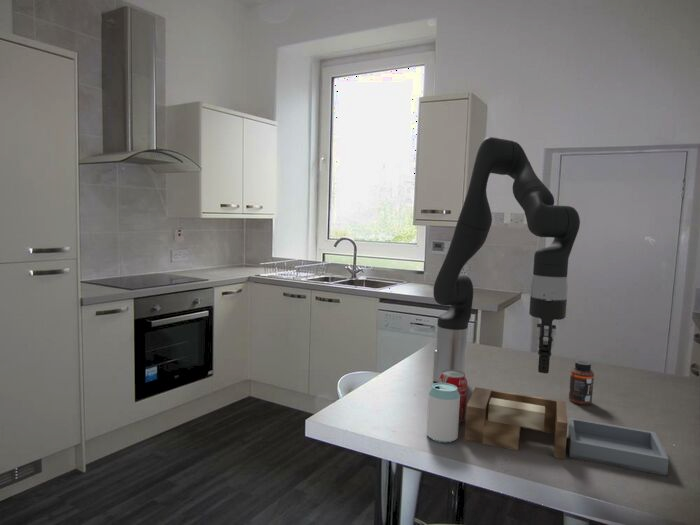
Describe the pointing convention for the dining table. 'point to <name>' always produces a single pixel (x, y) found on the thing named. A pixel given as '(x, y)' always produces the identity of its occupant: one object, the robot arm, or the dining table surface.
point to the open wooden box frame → (510, 434)
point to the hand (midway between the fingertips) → (543, 372)
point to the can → (443, 412)
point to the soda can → (461, 383)
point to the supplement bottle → (581, 383)
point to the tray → (616, 446)
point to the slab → (516, 413)
